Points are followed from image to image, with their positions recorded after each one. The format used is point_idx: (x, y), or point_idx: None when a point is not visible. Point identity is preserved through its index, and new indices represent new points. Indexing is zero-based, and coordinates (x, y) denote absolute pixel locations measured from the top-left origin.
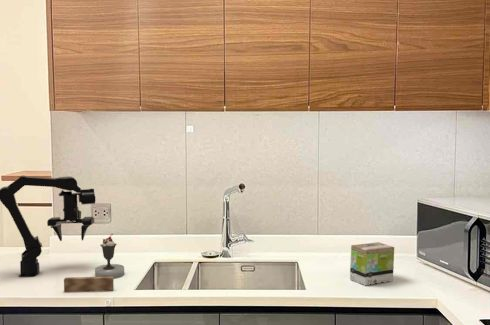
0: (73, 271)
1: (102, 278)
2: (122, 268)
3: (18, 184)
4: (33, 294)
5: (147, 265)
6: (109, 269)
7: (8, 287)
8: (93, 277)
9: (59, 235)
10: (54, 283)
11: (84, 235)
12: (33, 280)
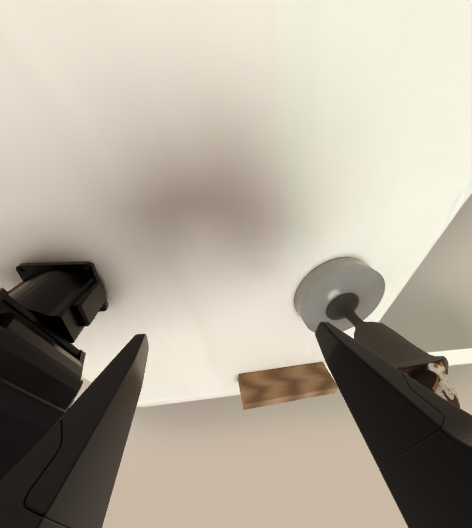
0: (225, 256)
1: (317, 395)
2: (373, 308)
3: None
4: (182, 393)
5: (459, 204)
6: (340, 318)
7: (94, 375)
8: (301, 396)
9: (126, 428)
10: (201, 347)
11: (363, 353)
12: (129, 334)
